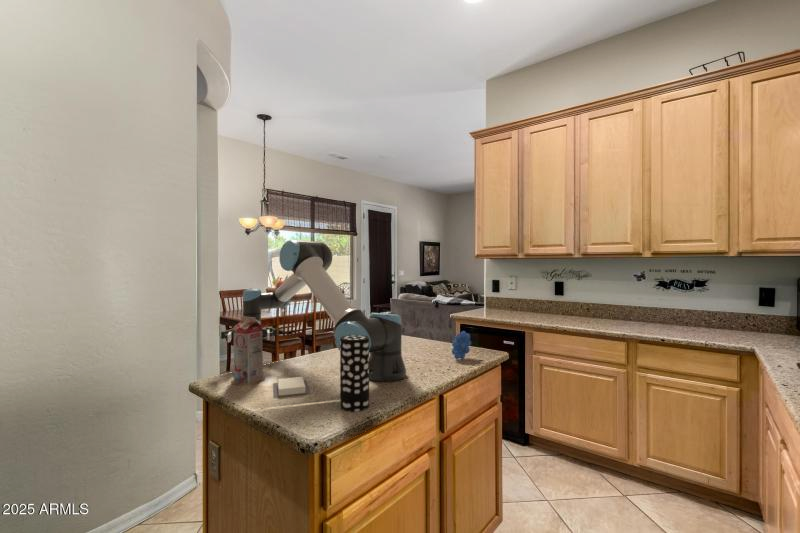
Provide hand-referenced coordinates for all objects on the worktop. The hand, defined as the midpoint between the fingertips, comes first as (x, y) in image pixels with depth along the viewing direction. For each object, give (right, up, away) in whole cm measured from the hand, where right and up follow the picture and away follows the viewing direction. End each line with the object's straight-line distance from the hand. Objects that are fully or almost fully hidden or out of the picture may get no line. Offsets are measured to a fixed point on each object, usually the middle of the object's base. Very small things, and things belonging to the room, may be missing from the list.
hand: (248, 337), depth 141 cm
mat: (+20, -14, -15) cm, 29 cm away
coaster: (+2, -14, -7) cm, 16 cm away
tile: (+18, -12, -11) cm, 25 cm away
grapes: (+82, -14, +27) cm, 87 cm away
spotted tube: (+42, -15, -29) cm, 53 cm away
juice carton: (+2, -14, -6) cm, 15 cm away
